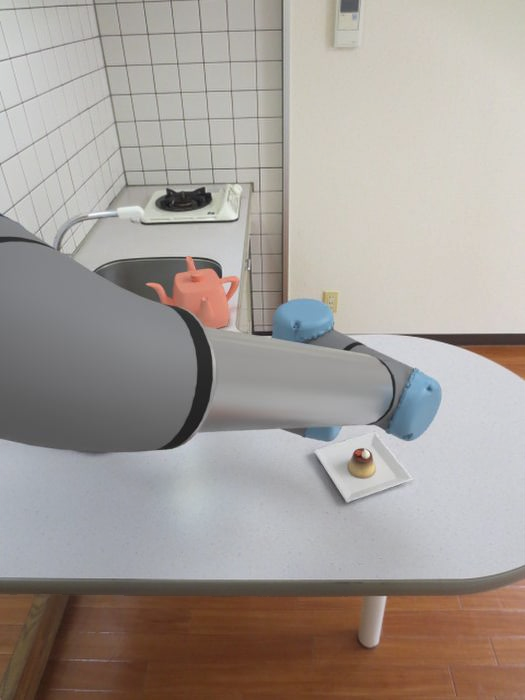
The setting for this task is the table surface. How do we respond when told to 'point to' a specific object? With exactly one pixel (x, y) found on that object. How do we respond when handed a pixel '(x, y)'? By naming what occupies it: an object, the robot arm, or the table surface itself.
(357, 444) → the dessert
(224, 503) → the table surface
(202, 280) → the pot
